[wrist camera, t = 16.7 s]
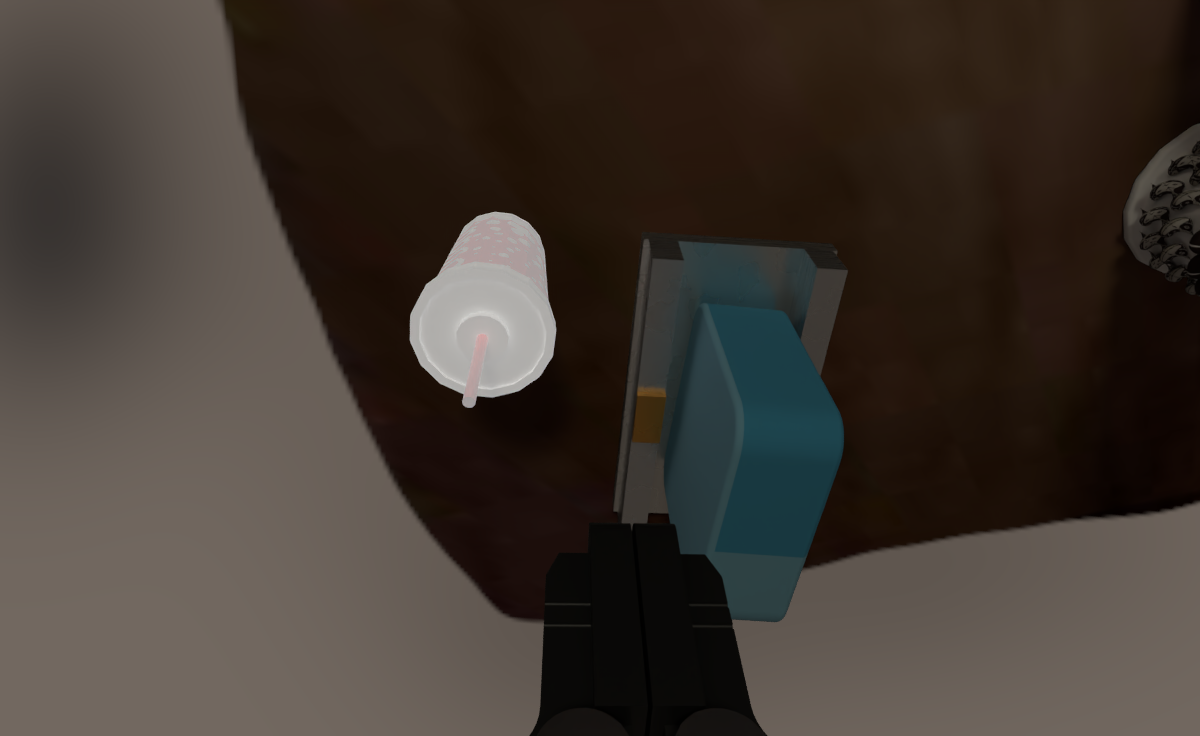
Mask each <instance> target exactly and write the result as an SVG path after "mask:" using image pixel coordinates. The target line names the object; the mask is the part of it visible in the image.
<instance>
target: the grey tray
mask: <svg viewBox="0 0 1200 736" xmlns="http://www.w3.org/2000/svg"><path fill="white" fill-rule="evenodd" d="M836 255H837V250H836V248H835V247H834V246H833V245H832V244H828V243H812V242H795V241H779V240H763V239H747V238H730V237H714V236H698V235H681V234H665V233H649V232H642V237H641V247H640V256H639V265H638V274H637V283H636V292H635V301H634V310H633V319H632V329H631V338H630V347H629V356H628V365H627V374H626V383H625V392H624V402H623V411H622V420H621V429H620V438H619V447H618V456H617V465H616V474H615V484H614V493H613V511H616V512H617V514H618V523H630V524H631V529H632V526H633V523H647V519H648V513H669V512H668V506H667V500H666V494H665V488H664V460H665V453H666V448H667V443H668V439H669V434H670V429H671V424H672V419H673V415H674V410H675V405H676V400H677V395H678V391H679V386H680V381H681V376H682V372H683V367H684V362H685V357H686V352H687V348H688V343H689V338H690V333H691V328H692V324H693V319H694V315H695V313H696V310H697V308H698V307H699V306H700V305H701V304H702V303H710V304H720V305H730V306H740V307H750V308H761V309H771V310H780V311H783V312H785V313H786V314H787V316H788V318H789V319H790V321H791V323H792V325H793V327H794V329H795V331H796V332H797V334H798V336H799V338H800V340H801V342H802V344H803V345H804V347H805V349H806V351H807V353H808V355H809V357H810V358H811V360H812V362H813V364H814V366H815V368H816V370H817V371H818V373H819V375H821V371H822V367H823V363H824V360H825V356H826V352H827V348H828V344H829V341H830V337H831V333H832V329H833V325H834V322H835V318H836V314H837V310H838V306H839V302H840V299H841V295H842V291H843V287H844V283H845V280H846V276H847V272H848V270H847V268H846V267H845V266H844V265H843V263H842V262H841V261H840V259H839V258H838V257H837V256H836Z"/></svg>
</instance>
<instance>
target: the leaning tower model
mask: <svg viewBox="0 0 1200 736" xmlns="http://www.w3.org/2000/svg"><path fill="white" fill-rule="evenodd" d="M1123 226H1124V240H1125V241H1126V243H1127V245H1128V246H1129V248H1130V249H1131V251H1132V253H1133V254H1134V256H1135V258H1136V259H1137V260H1138V261H1140V262H1142V263H1144V264H1146V265H1148V266H1150V268H1152V269H1156V270H1158V271H1160V272H1162V273H1166V274H1165V278H1166V279H1167V280H1168V281H1173V282H1178V281H1180V280H1181V279H1182V278H1183V277H1187V279H1188V281H1187V286H1186V287H1185V290H1186V292H1187V293H1189V294H1192V295H1194V294H1197V295H1198V296H1199V297H1200V123H1199V124H1196V125H1193V126H1191V127H1190V128H1189V129H1187V130H1186V131H1184V132H1183V133H1182V134H1180V135H1179V136H1177V137H1176V138H1175V139H1173V140H1172V141H1171V142H1169V143H1168V144H1166V145H1165V146H1164V147H1162V148H1161V149H1159V151H1158V152H1157V153H1156V154H1155V156H1154V157H1153V158H1152V159H1151V161H1150V162H1149V163H1148V164H1147V166H1146V167H1145V168H1144V169H1143V171H1142V172H1141V173H1140V174H1139V176H1138V177H1137V178H1136V179H1135V182H1134V184H1133V187H1132V189H1131V192H1130V194H1129V197H1128V200H1127V202H1126V205H1125V207H1124V210H1123Z"/></svg>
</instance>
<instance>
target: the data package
mask: <svg viewBox="0 0 1200 736" xmlns="http://www.w3.org/2000/svg"><path fill="white" fill-rule="evenodd" d="M843 446H844V429H843V422H842V418H841V415H840V413H839V410H838V408H837V407H836V405H835V403H834V401H833V399H832V397H831V396H830V394H829V392H828V390H827V388H826V386H825V384H824V383H823V381H822V379H821V377H820V375H819V373H818V371H817V370H816V368H815V366H814V364H813V362H812V360H811V358H810V357H809V355H808V353H807V351H806V349H805V347H804V345H803V344H802V342H801V340H800V338H799V336H798V334H797V332H796V331H795V329H794V327H793V325H792V323H791V321H790V319H789V318H788V316H787V314H786V313H785V312H783V311H780V310H771V309H761V308H750V307H740V306H730V305H720V304H710V303H702V304H701V305H700V306H699V307H698V308H697V310H696V313H695V315H694V319H693V324H692V328H691V333H690V338H689V343H688V348H687V352H686V357H685V362H684V367H683V372H682V376H681V381H680V386H679V391H678V395H677V400H676V405H675V410H674V415H673V419H672V424H671V429H670V434H669V439H668V443H667V448H666V453H665V460H664V488H665V494H666V500H667V506H668V512H669V519H670V524H675V526H676V530H677V536H678V542H679V548H680V554H705V555H706V556H707V557H708V559H709V560H710V561H711V563H712V564H713V565H714V567H715V568H716V569H717V571H718V572H719V573H720V575H721V576H722V579H723V583H724V588H725V592H726V597H727V601H728V608H729V610H730V614H731V619H736V620H751V621H767V622H778V621H780V620H782V619H783V618H784V616H785V614H786V612H787V610H788V607H789V604H790V601H791V599H792V596H793V593H794V590H795V587H796V585H797V581H798V579H799V576H800V573H801V571H802V568H803V565H804V562H805V559H806V557H807V554H808V551H809V548H810V545H811V543H812V540H813V537H814V534H815V531H816V529H817V526H818V523H819V520H820V518H821V515H822V512H823V509H824V506H825V504H826V501H827V498H828V495H829V492H830V490H831V487H832V484H833V481H834V478H835V476H836V473H837V470H838V467H839V464H840V461H841V458H842V453H843Z"/></svg>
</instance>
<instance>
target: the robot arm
mask: <svg viewBox="0 0 1200 736" xmlns="http://www.w3.org/2000/svg"><path fill="white" fill-rule="evenodd" d="M732 624H733V623H732V619H731V614H730V610H729V608H728V601H727V597H726V592H725V588H724V583H723V579H722V576H721V575H720V573H719V572H718V571H717V569H716V568H715V567H714V565H713V564H712V563H711V561H710V560H709V559H708V557H707V556H706V555H705V554H680V548H679V542H678V536H677V530H676V526H675V524H663V523H633V526H632V529H631V524H630V523H589V537H588V553H559V554H558V556H557V557H556V559H555V561H554V563H553V564H552V566H551V568H550V569H549V571H548V573H547V575H546V588H545V611H544V635H543V659H542V680H541V682H542V683H541V705H540V713H539V717H538V721H537V724H536V726H535V727H534V729H533V731H532V733H531V734H530V736H767V735H766V734H765V732H763V730H762V729H761V727H760V726H759V724H758V722H757V721H756V719H755V716H754V714H753V711H752V708H751V704H750V699H749V695H748V691H747V686H746V681H745V677H744V673H743V668H742V664H741V659H740V655H739V650H738V646H737V641H736V637H735V632H734V629H733V627H732Z"/></svg>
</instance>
